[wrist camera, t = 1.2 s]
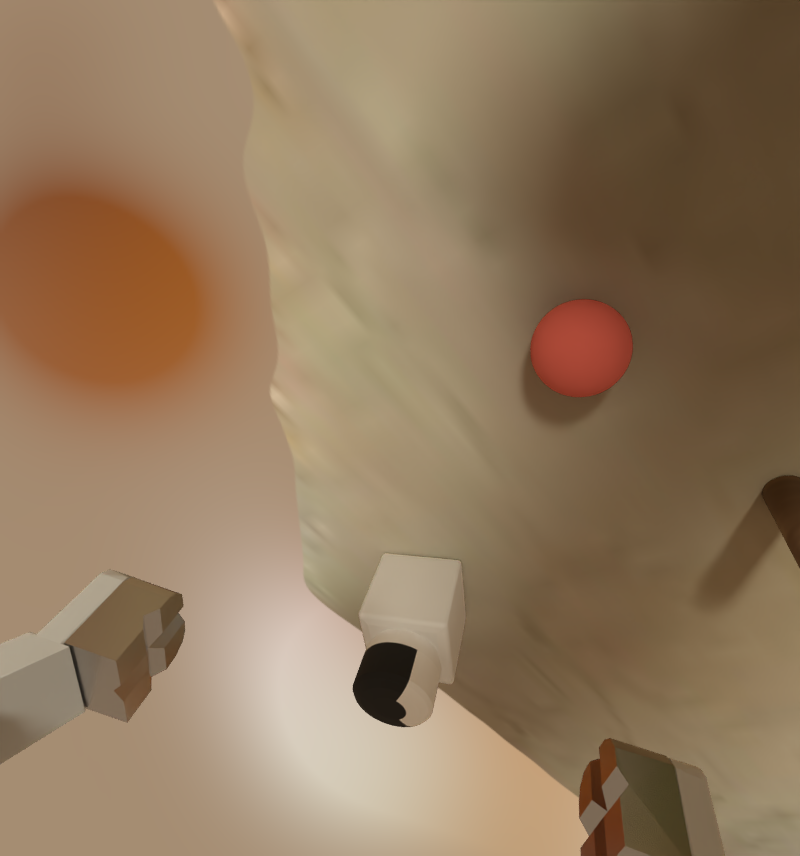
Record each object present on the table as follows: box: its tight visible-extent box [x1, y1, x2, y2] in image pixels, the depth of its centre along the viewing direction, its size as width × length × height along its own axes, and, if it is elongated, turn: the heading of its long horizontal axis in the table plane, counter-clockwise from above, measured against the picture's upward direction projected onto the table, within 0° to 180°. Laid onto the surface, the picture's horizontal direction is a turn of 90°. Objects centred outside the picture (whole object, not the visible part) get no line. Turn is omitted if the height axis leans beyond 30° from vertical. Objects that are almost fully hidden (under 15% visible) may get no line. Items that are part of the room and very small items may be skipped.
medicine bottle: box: [353, 553, 466, 727], centre depth 43 cm, size 7×7×12 cm
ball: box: [530, 299, 633, 397], centre depth 31 cm, size 6×6×6 cm
